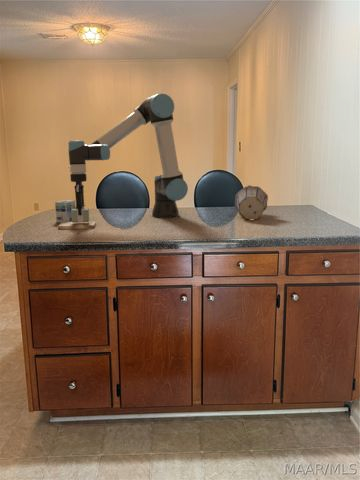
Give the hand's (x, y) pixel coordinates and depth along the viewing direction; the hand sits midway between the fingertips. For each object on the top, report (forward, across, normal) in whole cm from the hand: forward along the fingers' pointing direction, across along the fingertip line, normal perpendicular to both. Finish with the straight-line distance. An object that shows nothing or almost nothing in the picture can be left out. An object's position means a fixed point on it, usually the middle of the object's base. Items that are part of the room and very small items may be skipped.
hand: (81, 220), depth 204 cm
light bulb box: (+3, -18, -10) cm, 21 cm away
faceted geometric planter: (+4, -16, +91) cm, 92 cm away
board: (+3, 0, -2) cm, 4 cm away
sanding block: (0, 0, 0) cm, 1 cm away
